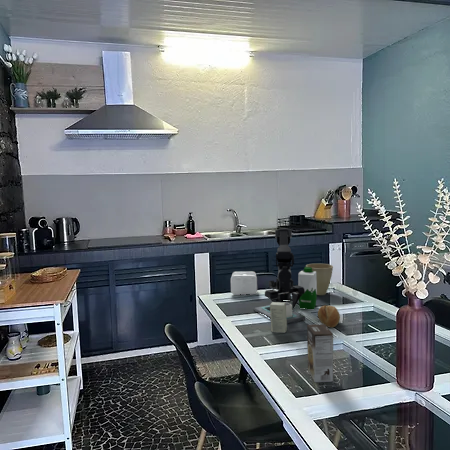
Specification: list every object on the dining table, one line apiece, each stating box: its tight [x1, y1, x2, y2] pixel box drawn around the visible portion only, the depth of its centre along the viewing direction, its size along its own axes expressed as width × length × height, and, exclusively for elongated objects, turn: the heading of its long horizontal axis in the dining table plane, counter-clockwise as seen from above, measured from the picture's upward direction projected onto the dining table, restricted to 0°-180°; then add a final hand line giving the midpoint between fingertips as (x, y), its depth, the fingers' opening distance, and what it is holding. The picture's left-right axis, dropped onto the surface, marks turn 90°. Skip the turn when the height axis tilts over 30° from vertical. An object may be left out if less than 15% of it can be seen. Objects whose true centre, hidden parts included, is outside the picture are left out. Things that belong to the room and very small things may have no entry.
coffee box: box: [306, 323, 334, 383], centre depth 137 cm, size 9×6×16 cm
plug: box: [284, 301, 293, 318], centre depth 195 cm, size 4×4×8 cm
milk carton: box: [297, 266, 318, 310], centre depth 211 cm, size 9×9×20 cm
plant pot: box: [305, 263, 334, 296], centre depth 236 cm, size 15×15×16 cm
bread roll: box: [317, 305, 341, 329], centre depth 187 cm, size 10×15×8 cm, turn 174°
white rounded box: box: [230, 271, 258, 296], centre depth 242 cm, size 15×11×12 cm
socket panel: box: [253, 304, 306, 324], centre depth 201 cm, size 14×24×2 cm, turn 24°
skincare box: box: [269, 301, 288, 333], centre depth 180 cm, size 6×4×12 cm
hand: (285, 309), depth 195 cm, fingers open, 9 cm apart
